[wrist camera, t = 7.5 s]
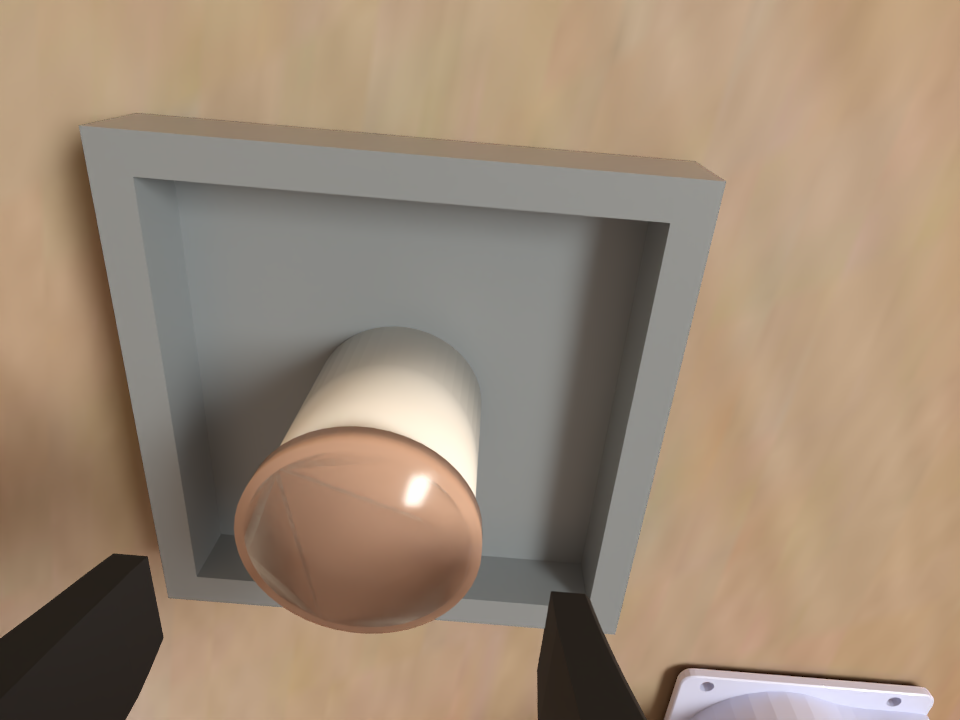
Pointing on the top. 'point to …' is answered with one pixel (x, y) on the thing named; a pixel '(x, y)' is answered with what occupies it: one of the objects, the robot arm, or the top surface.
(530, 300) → the tray
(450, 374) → the cup
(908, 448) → the top surface
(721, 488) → the top surface
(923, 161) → the top surface
